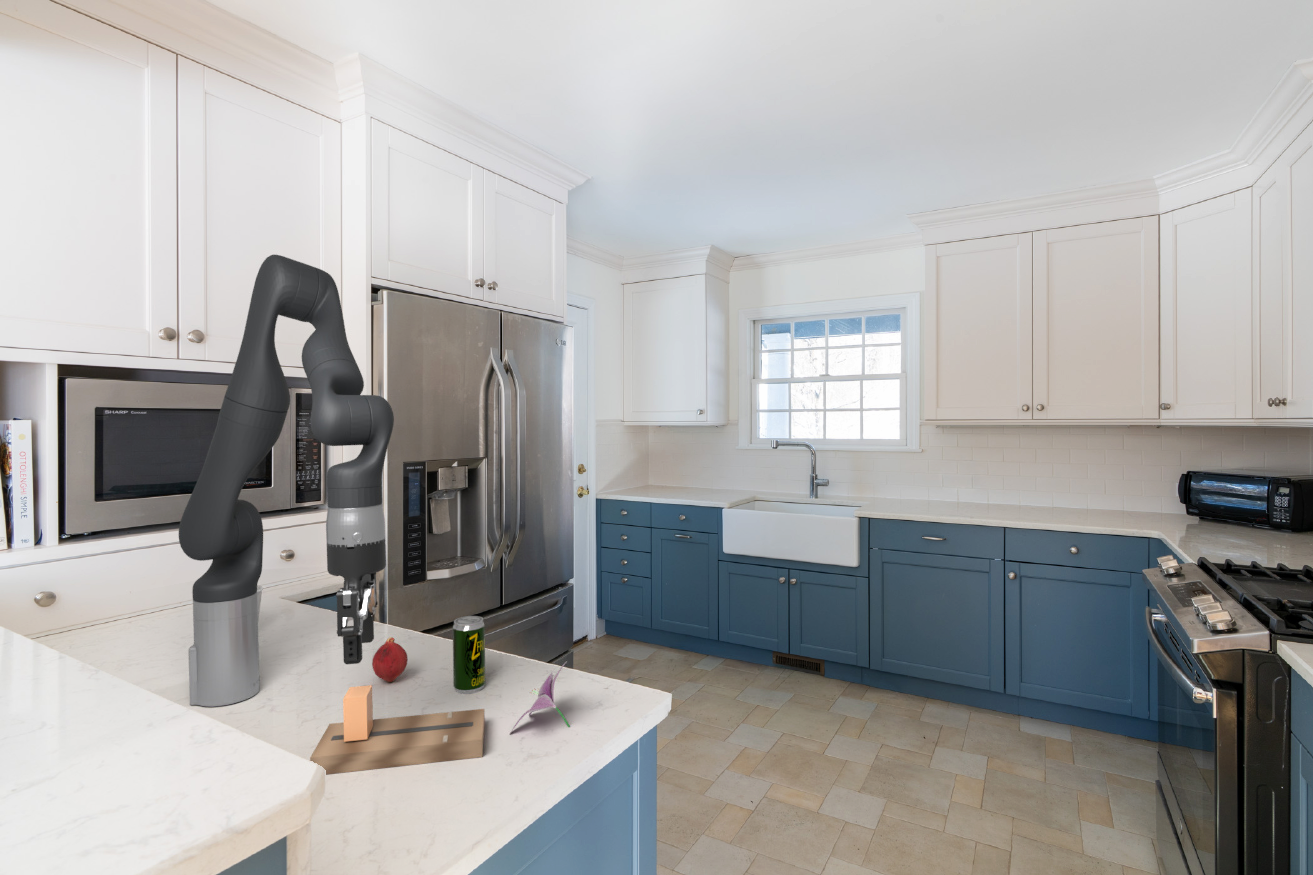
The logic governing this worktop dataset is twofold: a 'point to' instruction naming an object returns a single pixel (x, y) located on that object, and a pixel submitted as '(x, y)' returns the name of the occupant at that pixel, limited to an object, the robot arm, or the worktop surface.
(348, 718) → the fader knob
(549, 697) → the lily
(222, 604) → the robot arm
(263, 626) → the worktop surface
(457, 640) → the green soda can
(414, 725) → the fader base
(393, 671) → the onion
